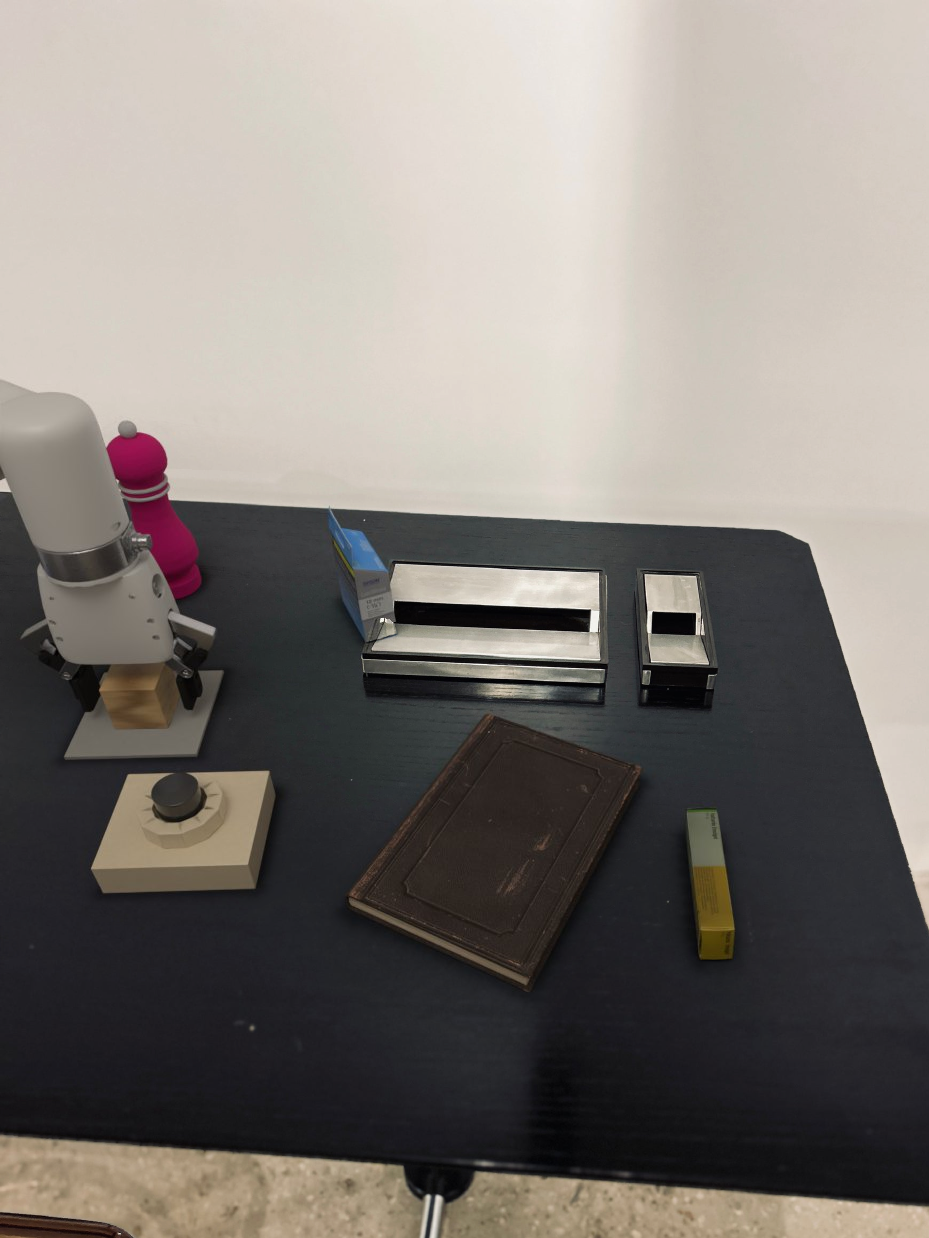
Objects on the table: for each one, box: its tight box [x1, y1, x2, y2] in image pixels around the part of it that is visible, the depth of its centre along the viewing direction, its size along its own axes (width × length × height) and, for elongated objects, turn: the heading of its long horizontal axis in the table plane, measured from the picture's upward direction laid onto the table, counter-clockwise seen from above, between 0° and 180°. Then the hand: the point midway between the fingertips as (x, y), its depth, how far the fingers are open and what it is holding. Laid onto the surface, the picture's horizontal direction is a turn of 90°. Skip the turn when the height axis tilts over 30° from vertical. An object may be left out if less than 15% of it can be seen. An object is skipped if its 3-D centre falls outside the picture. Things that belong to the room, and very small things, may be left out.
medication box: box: [685, 806, 736, 961], centre depth 69 cm, size 12×3×4 cm, turn 177°
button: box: [151, 772, 204, 823], centre depth 70 cm, size 4×4×2 cm
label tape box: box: [328, 505, 396, 643], centre depth 93 cm, size 9×4×12 cm, turn 25°
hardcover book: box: [344, 713, 643, 994], centre depth 73 cm, size 16×23×2 cm
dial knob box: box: [90, 770, 277, 894], centre depth 72 cm, size 12×10×5 cm
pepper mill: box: [106, 420, 202, 601], centre depth 95 cm, size 7×7×20 cm
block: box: [99, 662, 180, 729], centre depth 83 cm, size 5×5×5 cm
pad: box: [63, 669, 225, 761], centre depth 85 cm, size 12×12×1 cm
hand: (143, 701), depth 84 cm, fingers open, 9 cm apart
